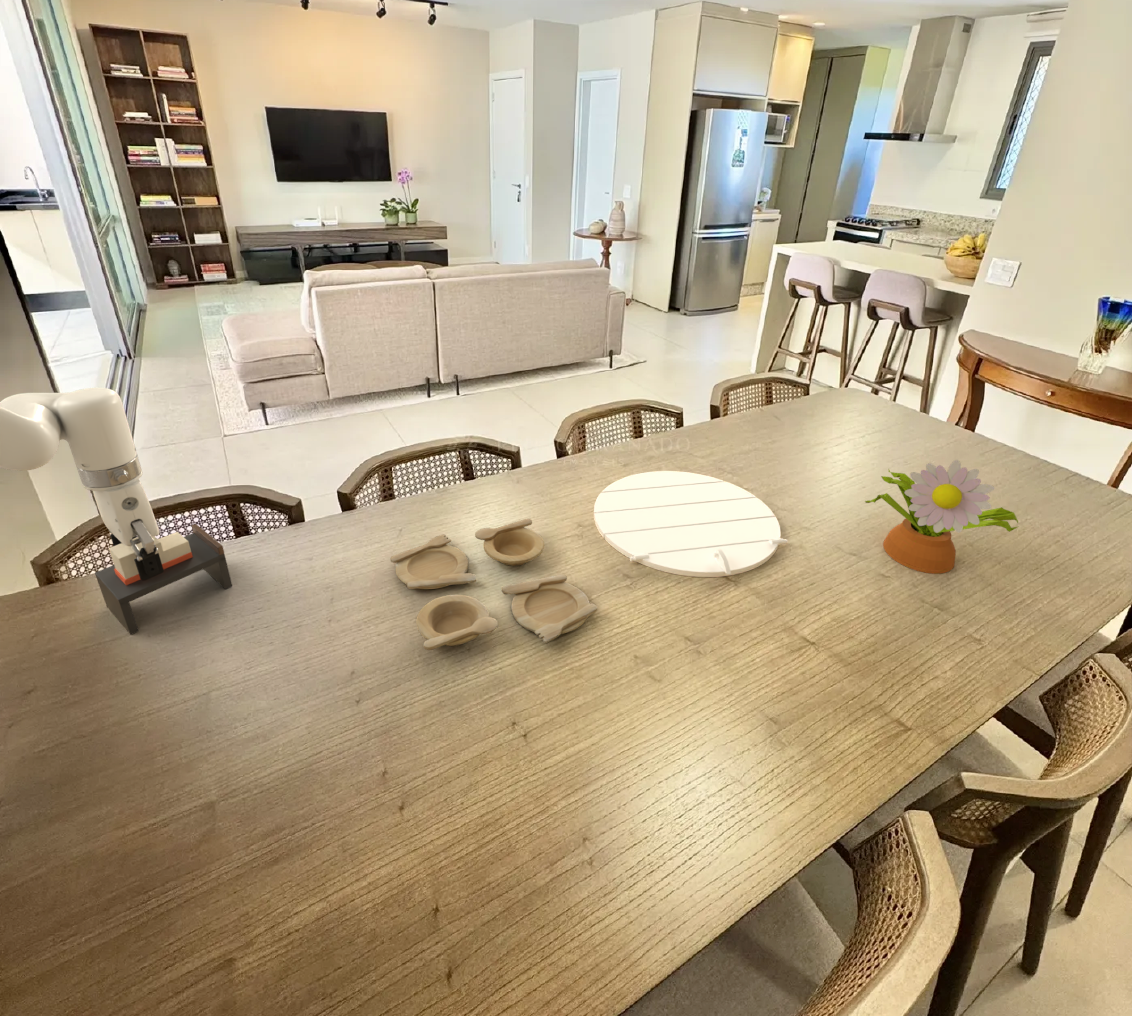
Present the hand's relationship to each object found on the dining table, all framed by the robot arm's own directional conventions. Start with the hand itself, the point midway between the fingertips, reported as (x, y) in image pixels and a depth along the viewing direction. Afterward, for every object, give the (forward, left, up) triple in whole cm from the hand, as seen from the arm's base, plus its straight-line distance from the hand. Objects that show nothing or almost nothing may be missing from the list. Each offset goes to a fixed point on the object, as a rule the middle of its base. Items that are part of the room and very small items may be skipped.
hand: (140, 563), depth 102 cm
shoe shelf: (+3, 0, -8) cm, 9 cm away
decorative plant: (+107, -96, -9) cm, 144 cm away
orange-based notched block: (+2, 0, -1) cm, 2 cm away
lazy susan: (+84, -54, -9) cm, 100 cm away
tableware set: (+40, -39, -9) cm, 56 cm away
